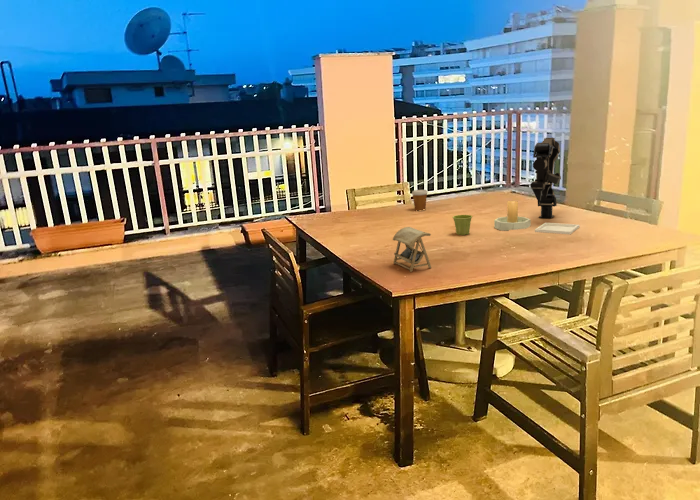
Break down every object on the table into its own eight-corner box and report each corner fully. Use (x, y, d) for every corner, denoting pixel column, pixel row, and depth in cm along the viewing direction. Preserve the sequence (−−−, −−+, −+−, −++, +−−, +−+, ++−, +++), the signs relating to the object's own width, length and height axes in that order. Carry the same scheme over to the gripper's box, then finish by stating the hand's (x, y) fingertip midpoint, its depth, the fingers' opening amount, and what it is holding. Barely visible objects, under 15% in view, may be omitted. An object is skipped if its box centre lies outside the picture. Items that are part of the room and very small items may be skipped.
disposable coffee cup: (429, 211, 326) (428, 191, 323) (413, 212, 326) (412, 192, 323) (427, 208, 335) (426, 189, 332) (411, 209, 335) (411, 190, 332)
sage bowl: (502, 223, 279) (502, 215, 278) (533, 225, 270) (533, 217, 269) (490, 229, 267) (490, 221, 266) (522, 232, 258) (522, 223, 257)
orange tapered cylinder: (514, 224, 271) (514, 200, 268) (519, 225, 266) (519, 201, 263) (505, 225, 270) (505, 201, 267) (510, 226, 265) (510, 202, 262)
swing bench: (392, 264, 219) (390, 228, 215) (412, 260, 223) (411, 225, 219) (410, 272, 206) (409, 235, 202) (432, 268, 210) (431, 231, 206)
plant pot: (450, 235, 260) (450, 218, 258) (456, 231, 268) (455, 214, 266) (469, 236, 256) (469, 218, 254) (474, 232, 264) (474, 214, 262)
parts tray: (545, 226, 266) (545, 222, 265) (579, 228, 256) (579, 224, 256) (534, 233, 253) (534, 229, 253) (570, 236, 244) (570, 231, 243)
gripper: (553, 170, 255) (552, 203, 258) (564, 166, 269) (563, 197, 273) (530, 170, 261) (529, 202, 265) (542, 166, 276) (541, 196, 279)
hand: (542, 199), depth 270 cm, fingers open, 9 cm apart
